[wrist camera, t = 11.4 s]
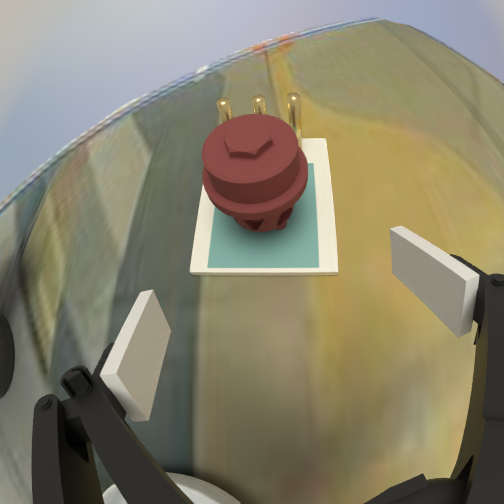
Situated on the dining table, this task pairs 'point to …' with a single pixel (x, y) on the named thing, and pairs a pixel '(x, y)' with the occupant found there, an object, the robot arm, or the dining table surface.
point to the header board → (273, 232)
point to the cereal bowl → (200, 492)
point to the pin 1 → (224, 109)
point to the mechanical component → (254, 171)
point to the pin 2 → (259, 104)
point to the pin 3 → (295, 115)
